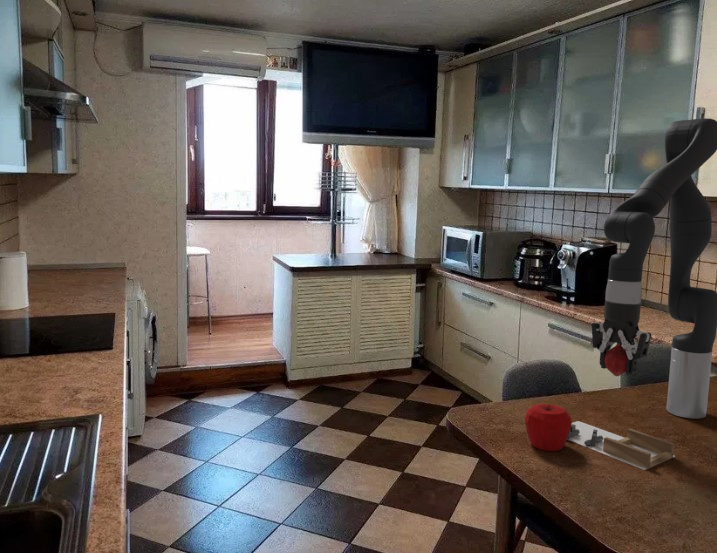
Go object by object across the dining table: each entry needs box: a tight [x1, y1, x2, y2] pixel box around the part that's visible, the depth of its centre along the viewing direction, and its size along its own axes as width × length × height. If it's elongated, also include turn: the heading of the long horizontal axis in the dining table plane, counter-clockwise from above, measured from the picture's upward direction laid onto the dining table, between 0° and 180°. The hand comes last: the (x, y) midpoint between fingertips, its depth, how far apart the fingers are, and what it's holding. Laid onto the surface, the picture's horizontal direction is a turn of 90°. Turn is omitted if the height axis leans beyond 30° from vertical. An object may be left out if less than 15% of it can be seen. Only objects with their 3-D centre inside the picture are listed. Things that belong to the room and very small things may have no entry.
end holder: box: [603, 428, 675, 469], centre depth 130 cm, size 10×10×3 cm
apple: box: [524, 403, 573, 452], centre depth 134 cm, size 10×10×11 cm
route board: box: [566, 420, 676, 471], centre depth 136 cm, size 14×24×4 cm, turn 35°
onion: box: [604, 343, 628, 377], centre depth 140 cm, size 6×6×8 cm
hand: (617, 371), depth 141 cm, fingers closed on onion, 6 cm apart
